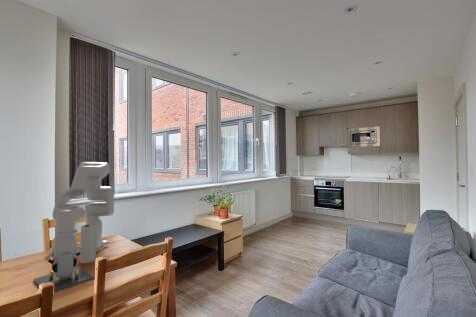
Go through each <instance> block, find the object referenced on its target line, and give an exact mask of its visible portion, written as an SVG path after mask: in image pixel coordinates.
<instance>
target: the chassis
mask: <svg viewBox="0 0 476 317" xmlns="http://www.w3.org/2000/svg"><path fill="white" fill-rule="evenodd" d="M94 279H95V276H94V275H92V274H91V273H90V272H88V271H86V269H84V268H82V267H81V266H80V265H76V267H73V273H72V274H71V275H70V276H68V277H65V278H59V276H55V272H54V271H52V270H50V271H49V274H46V275H43V276H39V277H35V278H33V283H34V284H35V285H36V286H37V287H38V288H39V285H40V284H42V283H47V282H52V283H53V284H54V293H57V292H59V290H60V291H62V290H63V291H64V290H65V289H68V288H72V287H74V286H77V285H80V284H84V283H86V282H88V281H89V282H90V281H92V280H94ZM85 281H86V282H85Z"/></svg>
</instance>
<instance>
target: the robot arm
mask: <svg viewBox="0 0 476 317" xmlns="http://www.w3.org/2000/svg"><path fill="white" fill-rule="evenodd" d="M110 169H111V168H110V164H109V163H108V162H103V161H102V162H99V161H98V162H97V161H84V162H83V161H82V162H81V163H79V165H78V167H77V168H76V171H75V173H74V177H73V178H72V183H71V186H70V188H68V189H67V190H66V191H65V192H64V193H62V194H61V195H60V196H59V197H58V198H57V199H56V202H55V204H54V207H53V210H52V218H53V220H55V221H56V222H55V223H56V224H55V237H54V238H53V240H52V246H51V252H49V253H48V254H47V255H46V256H45V257H44V260H46V261H47V262H48V263H49V264H51V271H54V273H56V272H57V264H56V262H57V261H58V259H59V257H60V256H62V255H61V254H66V253H69V252H71V253H72V254H73V255H74V266H73V267H76V266H77V263H78V262H77V260H78V257H80V254H81V252H82V251H83V248H81V247H80V246H78V243H77V236H76V233H78V229H76V228H75V222H77V221H80V220H82V219H83V218H85V225H93V226H96V253H97V252H100V251H102V250H104V248H105V245H109V244H110V241H109V240H103V239H102V238H103V236H102V234H103V222H102V220H101V218H100V217H110V216H113V214H114V212H115V194H114V193H115V192H114V189H113V187H111V186H107V185H104V186H102V180H103V179H104V178H105V177H107V176H108V174H109V173H110ZM85 194H86V198H87V200H88V201H91V202H88V203H86V204H85V205H84V207H83V206H79V205H69V206H68V205H66V204H67V203H68V202H69V201H71V200H73V199H76V198H78V197H81V196H83V195H85ZM95 201H96V202H95ZM103 201H104V202H103ZM51 257H52V258H53V259H51Z"/></svg>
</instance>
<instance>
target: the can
mask: <svg viewBox="0 0 476 317" xmlns="http://www.w3.org/2000/svg"><path fill="white" fill-rule="evenodd" d="M61 255H62V256H60V257H59V259H58V261H57V262H56V264H57V272H56V273H55V272H54V273H55V276H59V278H65V277H68V276H70V275H71V274H72V273H73V266H74V255H73V254H72V253H71V252H69V253H66V254H61Z"/></svg>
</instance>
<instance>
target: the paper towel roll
mask: <svg viewBox="0 0 476 317" xmlns="http://www.w3.org/2000/svg"><path fill="white" fill-rule="evenodd" d="M79 247H81V248H83V251H82V252H81V254H80V255H79V263H80V264H88V263H92V262H95V261H96V255H97V254H96V253H97V252H96V226H93V225H86V224H85V225H80V246H79Z"/></svg>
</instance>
